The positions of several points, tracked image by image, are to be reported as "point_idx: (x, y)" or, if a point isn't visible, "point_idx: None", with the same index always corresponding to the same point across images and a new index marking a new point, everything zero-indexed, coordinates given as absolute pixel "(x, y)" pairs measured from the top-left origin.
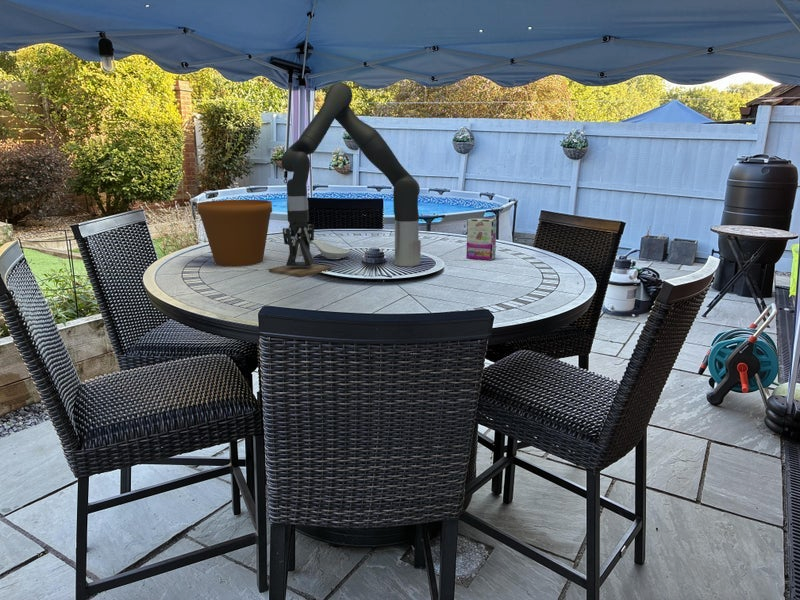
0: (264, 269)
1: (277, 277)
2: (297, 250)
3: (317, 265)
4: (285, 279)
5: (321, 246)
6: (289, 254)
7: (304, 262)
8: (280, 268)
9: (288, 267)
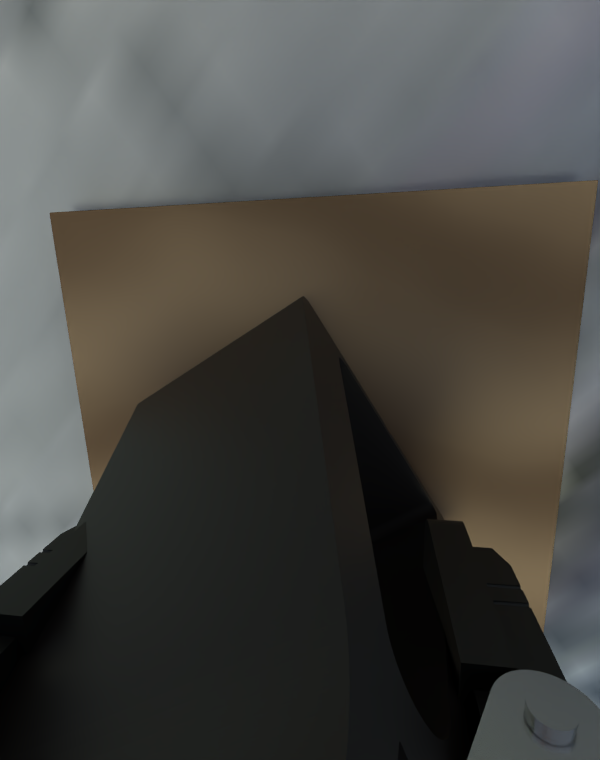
0: (122, 31)
1: (9, 460)
2: (349, 447)
3: (524, 520)
4: (16, 558)
5: None
6: (89, 502)
7: (371, 484)
8: (148, 301)
9: (240, 332)
